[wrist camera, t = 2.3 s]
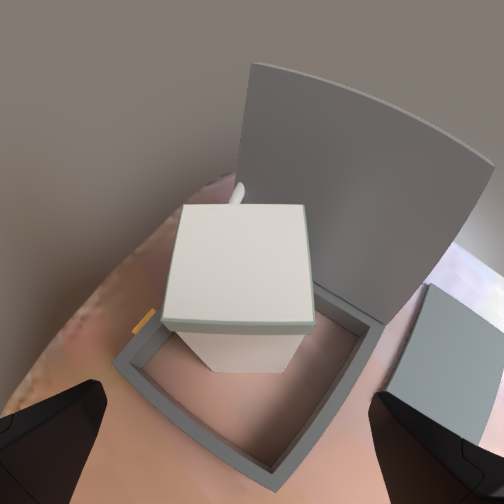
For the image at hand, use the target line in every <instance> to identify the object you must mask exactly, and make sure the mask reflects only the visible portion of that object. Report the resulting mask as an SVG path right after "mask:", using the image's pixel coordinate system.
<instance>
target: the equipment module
mask: <svg viewBox="0 0 504 504" xmlns="http://www.w3.org/2000/svg"><path fill="white" fill-rule="evenodd" d="M161 322H162V323H163V324H164V325H165V326H166V327H167V328H168V329H169V331H174V332H176V333H177V334H178V335H179V336H180V337H181V338H182V340H183V341H184V342H185V343H186V344H187V345H188V346H189V347H190V348H191V349H192V350H193V351H194V352H195V353H196V354H197V356H198V357H199V358H200V359H201V360H202V361H203V362H204V363H205V364H206V365H207V366H208V367H209V368H210V369H211V370H212V371H213V372H227V373H283V372H284V370H285V369H286V367H287V365H288V364H289V362H290V360H291V359H292V357H293V355H294V354H295V352H296V350H297V348H298V347H299V345H300V343H301V342H302V340H303V338H304V336H305V335H310V333H311V332H312V330H313V328H314V327H315V325H316V322H315V307H314V294H313V282H312V271H311V260H310V251H309V241H308V232H307V223H306V215H305V207H304V205H295V204H191V205H182V209H181V213H180V218H179V222H178V227H177V232H176V236H175V241H174V246H173V251H172V256H171V261H170V267H169V272H168V278H167V283H166V289H165V295H164V301H163V308H162V314H161Z"/></svg>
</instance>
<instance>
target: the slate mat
mask: <svg viewBox="0 0 504 504" xmlns="http://www.w3.org/2000/svg"><path fill="white" fill-rule="evenodd" d="M503 369H504V333H503V332H501V331H500V330H499V329H497V328H496V327H494V326H493V325H492V324H490V323H489V322H488V321H486V320H485V319H484V318H482V317H481V316H479V315H478V314H477V313H475V312H474V311H472V310H471V309H469V308H468V307H467V306H465V305H464V304H462V303H461V302H459V301H458V300H456V299H455V298H453V297H452V296H450V295H449V294H447V293H446V292H444V291H443V290H441V289H440V288H438V287H437V286H435V285H434V284H432V283H430V284H429V285H428V288H427V291H426V294H425V297H424V300H423V303H422V306H421V308H420V311H419V314H418V316H417V319H416V322H415V324H414V327H413V329H412V332H411V334H410V337H409V339H408V341H407V344H406V346H405V348H404V350H403V353H402V355H401V357H400V359H399V361H398V364H397V366H396V368H395V370H394V372H393V374H392V376H391V378H390V380H389V382H388V384H387V386H386V388H385V390H384V391H388V392H390V393H391V394H393V395H394V396H396V397H397V398H399V399H401V400H402V401H404V402H405V403H407V404H408V405H410V406H412V407H413V408H415V409H416V410H418V411H420V412H421V413H423V414H424V415H426V416H428V417H429V418H431V419H432V420H434V421H436V422H437V423H439V424H441V425H442V426H444V427H446V428H447V429H449V430H451V431H452V432H454V433H456V434H457V435H459V436H461V438H464V439H466V440H468V441H469V442H471V443H473V444H475V445H477V446H478V444H479V442H480V440H481V437H482V435H483V432H484V430H485V427H486V424H487V422H488V419H489V416H490V413H491V411H492V408H493V405H494V401H495V398H496V395H497V392H498V388H499V385H500V381H501V377H502V373H503Z"/></svg>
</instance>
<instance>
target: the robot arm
mask: <svg viewBox="0 0 504 504" xmlns="http://www.w3.org/2000/svg"><path fill="white" fill-rule="evenodd" d="M106 407H107V397H106V394H105V391H104V389H103V386H102V383H101V382H100V381H97V380H93V379H89V380H87V381H85V382H82V383H80V384H78V385H76V386H74V387H72V388H70V389H67V390H65V391H63V392H61V393H59V394H56V395H54V396H52V397H50V398H48V399H45V400H43V401H41V402H39V403H36V404H34V405H32V406H29V407H27V408H25V409H22V410H20V411H18V412H15V413H13V414H10V415H8V416H6V417H3V418H0V504H69V503H70V500H71V498H72V495H73V493H74V490H75V488H76V485H77V482H78V480H79V478H80V475H81V473H82V470H83V468H84V465H85V463H86V461H87V458H88V456H89V454H90V451H91V449H92V447H93V445H94V442H95V440H96V437H97V435H98V432H99V428H100V425H101V422H102V419H103V416H104V413H105V410H106ZM368 417H369V422H370V427H371V432H372V437H373V442H374V447H375V452H376V456H377V459H378V462H379V465H380V469H381V472H382V475H383V478H384V482H385V485H386V488H387V492H388V495H389V499H390V502H391V504H504V457H501V456H499V455H496V454H494V453H491V452H489V451H487V450H485V449H483V448H481V447H479V446H477V445H475V444H473V443H471V442H469V441H468V440H466V439H464V438H461V436H459V435H457V434H456V433H454V432H452V431H451V430H449V429H447V428H446V427H444V426H442V425H441V424H439V423H437V422H436V421H434V420H432V419H431V418H429V417H428V416H426V415H424V414H423V413H421V412H420V411H418V410H416V409H415V408H413V407H412V406H410V405H408V404H407V403H405V402H404V401H402V400H401V399H399V398H397V397H396V396H394V395H393V394H391V393H390V392H388V391H380V392H376V393H375V394H374V395H373V398H372V401H371V404H370V407H369V411H368Z"/></svg>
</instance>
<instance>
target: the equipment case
mask: <svg viewBox="0 0 504 504" xmlns="http://www.w3.org/2000/svg"><path fill="white" fill-rule="evenodd" d="M494 169H495V167H494V165H493V163H492V162H491V161H490V160H489V159H487V158H486V157H484V156H483V155H481V154H480V153H479V152H477V151H476V150H474V149H472V148H471V147H469V146H468V145H466V144H465V143H463V142H462V141H460V140H458V139H457V138H455V137H453V136H452V135H450V134H448V133H447V132H445V131H443V130H442V129H440V128H438V127H436V126H434V125H432V124H431V123H429V122H427V121H425V120H423V119H421V118H419V117H417V116H415V115H413V114H411V113H409V112H407V111H405V110H403V109H401V108H399V107H397V106H394V105H392V104H390V103H388V102H385V101H383V100H381V99H378V98H376V97H373V96H371V95H368V94H366V93H364V92H361V91H358V90H356V89H353V88H350V87H347V86H344V85H342V84H339V83H336V82H333V81H330V80H327V79H323V78H320V77H317V76H314V75H310V74H307V73H303V72H300V71H296V70H292V69H288V68H283V67H280V66H276V65H271V64H267V63H251V69H250V75H249V82H248V89H247V96H246V103H245V110H244V118H243V124H242V131H241V139H240V147H239V154H238V162H237V171H236V178H235V186H234V191H233V193H232V195H231V197H230V200H229V202H228V204H295V205H304V207H305V215H306V223H307V232H308V241H309V251H310V260H311V271H312V282H313V294H314V307H315V310H317V311H318V312H320V313H321V314H323V315H325V316H326V317H328V318H330V319H331V320H333V321H335V322H336V323H338V324H339V325H341V326H343V327H344V328H346V329H348V330H349V331H351V332H353V333H354V334H356V335H358V336H359V339H358V340H357V342H356V344H355V346H354V348H353V349H352V351H351V353H350V355H349V356H348V358H347V360H346V362H345V363H344V365H343V367H342V368H341V370H340V372H339V373H338V375H337V376H336V378H335V380H334V381H333V383H332V384H331V386H330V387H329V389H328V391H327V392H326V394H325V395H324V397H323V398H322V400H321V401H320V403H319V404H318V406H317V407H316V409H315V410H314V411H313V413H312V414H311V416H310V417H309V419H308V420H307V421H306V423H305V424H304V426H303V427H302V428H301V430H300V431H299V432H298V434H297V435H296V436H295V438H294V439H293V440H292V442H291V443H290V444H289V445H288V447H287V448H286V449H285V450H284V452H283V453H282V454H281V455H280V457H279V458H278V459H277V460H276V462H275V463H274V464H273V465H272V466H271V468H270V467H269V466H267V465H265V464H264V463H262V462H260V461H259V460H257V459H255V458H254V457H252V456H251V455H249V454H248V453H246V452H244V451H243V450H241V449H240V448H238V447H237V446H235V445H234V444H233V443H231V442H230V441H228V440H227V439H225V438H224V437H222V436H221V435H220V434H218V433H217V432H216V431H214V430H213V429H211V428H210V427H209V426H207V425H206V424H205V423H204V422H202V421H201V420H200V419H198V418H197V417H196V416H195V415H193V414H192V413H191V412H190V411H188V410H187V409H186V408H185V407H183V406H182V405H181V404H180V403H179V402H177V401H176V400H175V399H174V398H173V397H172V396H170V395H169V394H168V393H167V392H166V391H165V390H164V389H162V388H161V387H160V386H159V385H158V384H157V383H156V382H155V381H154V380H153V379H151V378H150V377H149V376H148V375H147V374H146V373H145V372H144V371H143V370H142V368H143V367H144V366H145V365H146V363H147V362H148V361H149V360H150V359H151V358H152V356H153V355H154V354H155V353H156V352H157V351H158V350H159V348H160V347H161V346H162V345H163V344H164V343H165V341H166V340H167V339H168V338H169V337H170V336H171V335H172V333H173V332H174V331H169V329H168V328H167V327H166V326H165V325H164V324H163V323H162V322H161V314H162V308H163V305H162V306H161V307H160V308H159V309H158V310H157V311H155V310H154V309H153V308H152V309H151V310H150V311H149V312H148V313H147V314H146V316H145V317H144V318H143V319H142V320H141V321H140V322H139V323H138V325H137V326H136V327H135V328H134V329H133V330H132V331H131V332H132V333H133V334H134V335H135V336H134V337H133V338H132V340H131V341H130V342H129V343H128V344H127V345H126V346H125V348H124V349H123V350H122V351H121V352H120V353H119V354H118V356H117V357H116V358H115V359H114V360H113V361H112V363H111V364H112V365H113V366H114V367H115V368H116V369H117V370H118V371H119V372H120V373H121V374H122V375H123V376H124V377H125V379H126V380H127V381H128V382H129V383H130V384H131V385H132V386H133V387H134V388H135V389H136V390H137V391H138V392H139V393H140V394H142V395H143V396H144V397H145V398H146V399H147V400H148V401H149V402H150V403H151V404H152V405H153V406H154V407H155V408H157V409H158V410H159V411H160V412H161V413H162V414H163V415H164V416H166V417H167V418H168V419H169V420H170V421H171V422H173V423H174V424H175V425H176V426H177V427H178V428H180V429H181V430H182V431H183V432H185V433H186V434H187V435H188V436H190V437H191V438H192V439H193V440H195V441H196V442H197V443H199V444H200V445H201V446H203V447H204V448H205V449H207V450H208V451H210V452H211V453H212V454H214V455H215V456H217V457H218V458H219V459H221V460H222V461H224V462H225V463H227V464H228V465H230V466H231V467H233V468H234V469H236V470H237V471H239V472H240V473H242V474H244V475H245V476H247V477H248V478H250V479H252V480H253V481H255V482H257V483H259V484H260V485H262V486H264V487H265V488H267V489H269V490H271V491H273V492H275V493H276V492H277V491H278V490H279V489H280V488H281V487H282V485H283V484H284V483H285V482H286V481H287V480H288V478H289V477H290V476H291V475H292V474H293V472H294V471H295V470H296V469H297V468H298V466H299V465H300V464H301V463H302V461H303V460H304V459H305V457H306V456H307V455H308V454H309V452H310V451H311V450H312V448H313V447H314V446H315V444H316V443H317V441H318V440H319V439H320V437H321V436H322V434H323V433H324V432H325V430H326V429H327V427H328V426H329V424H330V423H331V421H332V420H333V418H334V417H335V415H336V414H337V412H338V411H339V409H340V408H341V406H342V405H343V403H344V401H345V400H346V398H347V397H348V395H349V393H350V392H351V390H352V388H353V387H354V385H355V383H356V381H357V380H358V378H359V376H360V374H361V373H362V371H363V369H364V367H365V365H366V364H367V362H368V360H369V358H370V356H371V354H372V352H373V350H374V349H375V347H376V345H377V343H378V341H379V339H380V337H381V335H382V333H383V330H384V328H385V326H386V325H387V324H388V323H389V322H390V321H391V320H392V319H393V318H394V317H395V315H396V314H397V313H398V312H399V311H400V310H401V308H402V307H403V306H404V305H405V304H406V303H407V301H408V300H409V299H410V298H411V297H412V295H413V294H414V293H415V292H416V290H417V289H418V288H419V287H420V285H421V284H422V283H423V282H424V280H425V279H426V278H427V276H428V275H429V274H430V272H431V271H432V270H433V268H434V267H435V266H436V264H437V263H438V262H439V260H440V259H441V257H442V256H443V255H444V253H445V252H446V250H447V249H448V247H449V246H450V244H451V243H452V242H453V240H454V239H455V237H456V236H457V234H458V232H459V231H460V229H461V228H462V226H463V224H464V223H465V221H466V220H467V218H468V216H469V215H470V213H471V211H472V210H473V208H474V206H475V205H476V203H477V201H478V199H479V198H480V196H481V194H482V192H483V190H484V189H485V187H486V185H487V183H488V181H489V179H490V177H491V175H492V173H493V171H494Z"/></svg>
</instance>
